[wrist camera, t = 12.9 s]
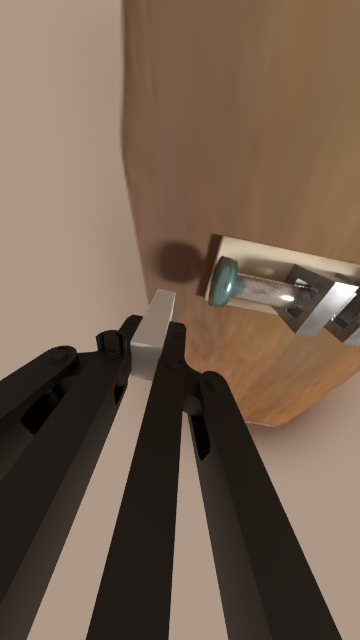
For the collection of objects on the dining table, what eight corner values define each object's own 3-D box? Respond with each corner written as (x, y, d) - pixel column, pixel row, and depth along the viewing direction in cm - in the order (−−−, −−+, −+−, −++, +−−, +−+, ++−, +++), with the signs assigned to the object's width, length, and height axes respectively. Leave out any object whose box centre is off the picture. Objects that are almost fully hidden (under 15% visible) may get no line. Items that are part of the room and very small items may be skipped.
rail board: (222, 235, 22) (224, 236, 21) (453, 284, 23) (467, 288, 22) (204, 296, 28) (204, 300, 26) (390, 333, 29) (399, 338, 27)
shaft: (206, 293, 24) (210, 314, 19) (219, 251, 21) (228, 262, 15) (299, 312, 25) (327, 337, 19) (327, 274, 21) (372, 292, 16)
